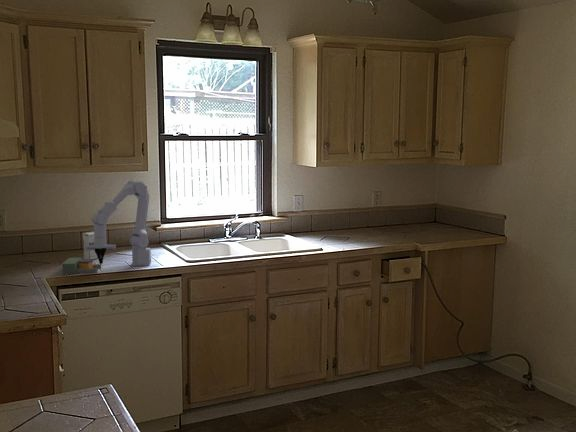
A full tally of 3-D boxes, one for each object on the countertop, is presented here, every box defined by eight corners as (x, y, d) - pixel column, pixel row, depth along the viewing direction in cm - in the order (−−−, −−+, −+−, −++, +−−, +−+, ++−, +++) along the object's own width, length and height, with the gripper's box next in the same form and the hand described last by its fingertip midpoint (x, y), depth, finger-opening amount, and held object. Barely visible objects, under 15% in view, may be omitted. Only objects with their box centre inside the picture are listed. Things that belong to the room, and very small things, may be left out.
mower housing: (102, 267, 313) (101, 257, 313) (96, 273, 300) (95, 263, 299) (69, 267, 312) (69, 257, 311) (62, 273, 298) (62, 263, 297)
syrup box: (92, 257, 336) (91, 231, 334) (98, 258, 332) (97, 232, 330) (83, 258, 332) (82, 232, 330) (89, 260, 328) (88, 233, 326)
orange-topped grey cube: (92, 269, 309) (92, 259, 308) (88, 271, 304) (88, 261, 303) (83, 268, 310) (83, 259, 309) (79, 271, 305) (78, 261, 304)
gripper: (115, 234, 309) (116, 261, 311) (85, 235, 306) (86, 262, 308) (114, 237, 303) (115, 264, 305) (84, 238, 299) (85, 265, 302)
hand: (101, 263), depth 306 cm, fingers closed
